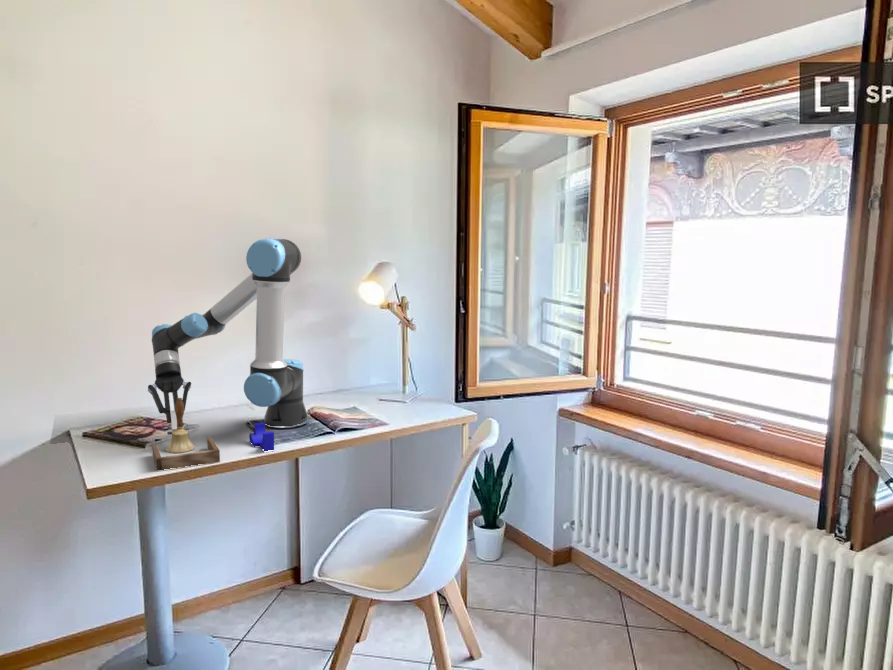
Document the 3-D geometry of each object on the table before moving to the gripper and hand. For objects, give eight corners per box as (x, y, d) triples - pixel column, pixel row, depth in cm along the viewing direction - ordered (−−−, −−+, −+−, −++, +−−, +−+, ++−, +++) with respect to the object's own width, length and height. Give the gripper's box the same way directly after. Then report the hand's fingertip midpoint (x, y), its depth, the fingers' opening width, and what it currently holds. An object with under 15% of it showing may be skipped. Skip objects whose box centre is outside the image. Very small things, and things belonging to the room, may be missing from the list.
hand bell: (199, 444, 184) (197, 395, 182) (188, 453, 176) (187, 402, 174) (172, 443, 184) (170, 394, 182) (160, 453, 176) (158, 401, 173)
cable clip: (249, 442, 188) (249, 424, 188) (263, 440, 191) (263, 422, 190) (259, 454, 178) (259, 435, 177) (274, 451, 181) (274, 433, 180)
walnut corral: (211, 448, 181) (211, 437, 181) (219, 461, 170) (219, 450, 170) (152, 456, 173) (152, 444, 172) (157, 471, 162) (156, 459, 161)
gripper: (188, 371, 199) (196, 433, 187) (145, 374, 192) (150, 439, 181) (189, 359, 194) (198, 422, 182) (145, 362, 187) (151, 427, 175)
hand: (174, 430), depth 181 cm, fingers closed
